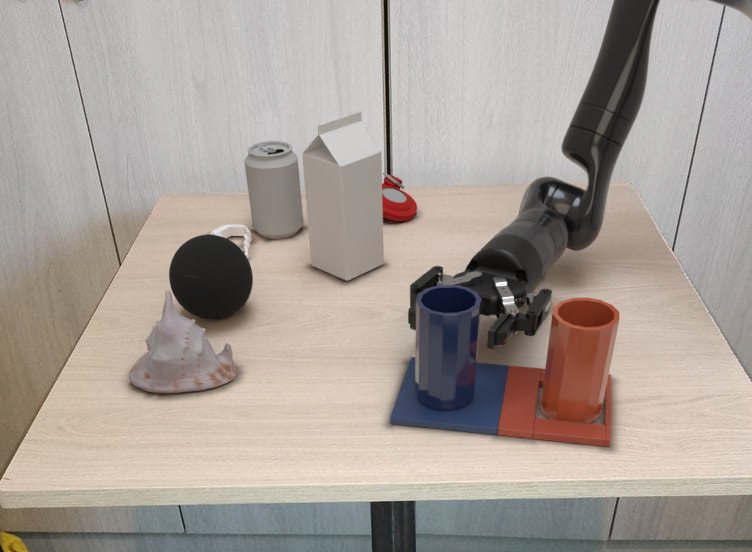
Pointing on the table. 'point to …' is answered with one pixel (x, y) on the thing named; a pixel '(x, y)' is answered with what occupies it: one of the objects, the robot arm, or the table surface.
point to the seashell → (180, 357)
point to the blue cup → (446, 346)
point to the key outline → (235, 234)
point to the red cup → (578, 359)
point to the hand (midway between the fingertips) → (451, 331)
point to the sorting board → (500, 408)
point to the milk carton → (344, 198)
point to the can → (274, 189)
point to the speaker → (210, 277)
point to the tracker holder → (396, 200)
